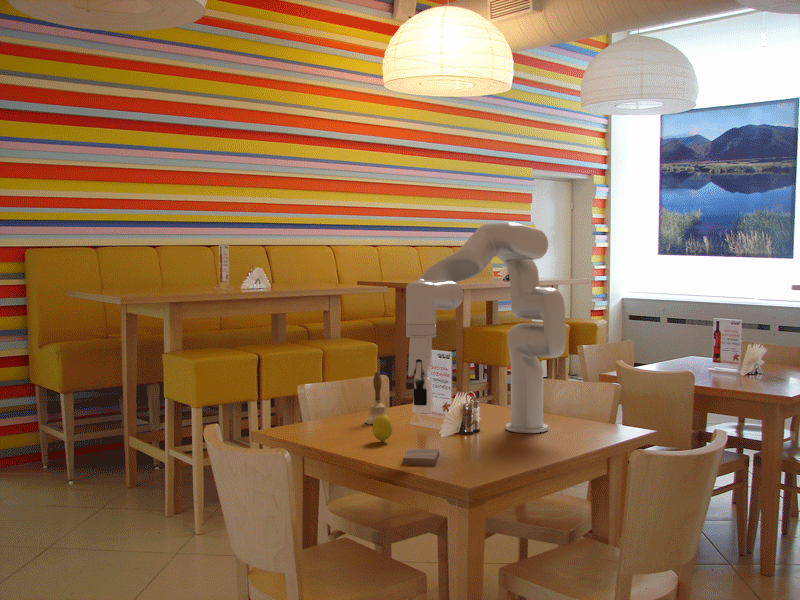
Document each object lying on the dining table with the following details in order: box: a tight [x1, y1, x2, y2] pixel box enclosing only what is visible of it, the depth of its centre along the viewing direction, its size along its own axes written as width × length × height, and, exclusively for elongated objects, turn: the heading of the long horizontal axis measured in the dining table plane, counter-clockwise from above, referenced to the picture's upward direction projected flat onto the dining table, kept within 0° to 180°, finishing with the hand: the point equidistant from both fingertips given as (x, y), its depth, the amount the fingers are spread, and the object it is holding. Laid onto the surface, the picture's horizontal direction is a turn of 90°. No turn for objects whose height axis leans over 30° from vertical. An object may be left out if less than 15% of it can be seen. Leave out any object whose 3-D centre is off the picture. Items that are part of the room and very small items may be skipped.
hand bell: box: [364, 371, 389, 425], centre depth 240 cm, size 8×8×16 cm
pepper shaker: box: [411, 375, 435, 414], centre depth 193 cm, size 5×5×11 cm
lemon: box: [372, 414, 393, 443], centre depth 212 cm, size 6×6×8 cm
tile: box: [402, 448, 440, 467], centre depth 193 cm, size 2×8×10 cm
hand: (421, 402), depth 193 cm, fingers closed on pepper shaker, 4 cm apart
